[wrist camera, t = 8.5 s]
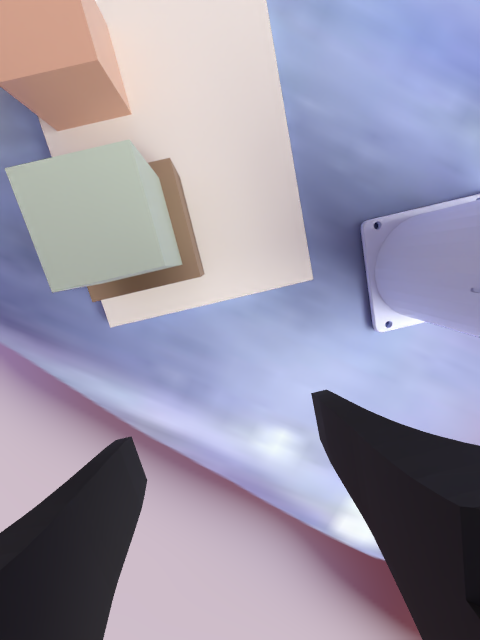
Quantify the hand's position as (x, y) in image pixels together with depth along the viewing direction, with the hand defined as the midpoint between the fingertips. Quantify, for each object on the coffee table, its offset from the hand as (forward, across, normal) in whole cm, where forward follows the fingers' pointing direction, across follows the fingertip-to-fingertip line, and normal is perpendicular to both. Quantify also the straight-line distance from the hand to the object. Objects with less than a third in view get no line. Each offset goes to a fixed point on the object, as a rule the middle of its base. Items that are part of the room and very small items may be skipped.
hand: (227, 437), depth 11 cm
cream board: (+10, 0, -13) cm, 16 cm away
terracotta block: (+9, +4, -18) cm, 20 cm away
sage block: (+6, +3, -9) cm, 11 cm away
